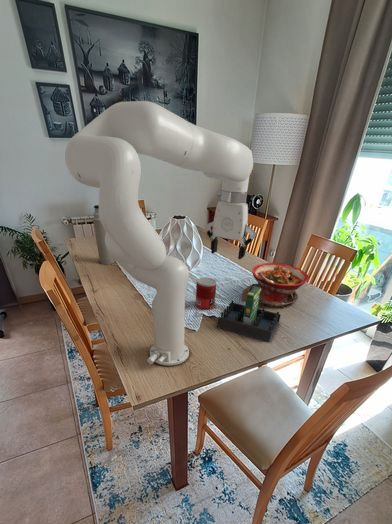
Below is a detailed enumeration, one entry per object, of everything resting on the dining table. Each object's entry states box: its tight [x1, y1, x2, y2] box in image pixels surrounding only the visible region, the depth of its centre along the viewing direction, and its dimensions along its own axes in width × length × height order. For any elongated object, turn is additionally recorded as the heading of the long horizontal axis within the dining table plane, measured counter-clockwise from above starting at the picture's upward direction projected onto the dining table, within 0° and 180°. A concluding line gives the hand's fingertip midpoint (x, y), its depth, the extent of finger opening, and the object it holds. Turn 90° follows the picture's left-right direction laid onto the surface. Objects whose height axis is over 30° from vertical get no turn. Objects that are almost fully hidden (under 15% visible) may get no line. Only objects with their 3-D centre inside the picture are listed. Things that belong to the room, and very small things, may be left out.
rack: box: [216, 299, 282, 343], centre depth 108 cm, size 20×14×6 cm
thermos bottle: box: [92, 204, 116, 265], centre depth 149 cm, size 8×8×28 cm
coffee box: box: [243, 286, 261, 325], centre depth 105 cm, size 8×3×13 cm, turn 151°
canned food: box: [195, 276, 217, 311], centre depth 118 cm, size 8×8×11 cm
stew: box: [240, 262, 310, 309], centre depth 124 cm, size 28×24×16 cm
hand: (227, 255), depth 96 cm, fingers open, 9 cm apart
